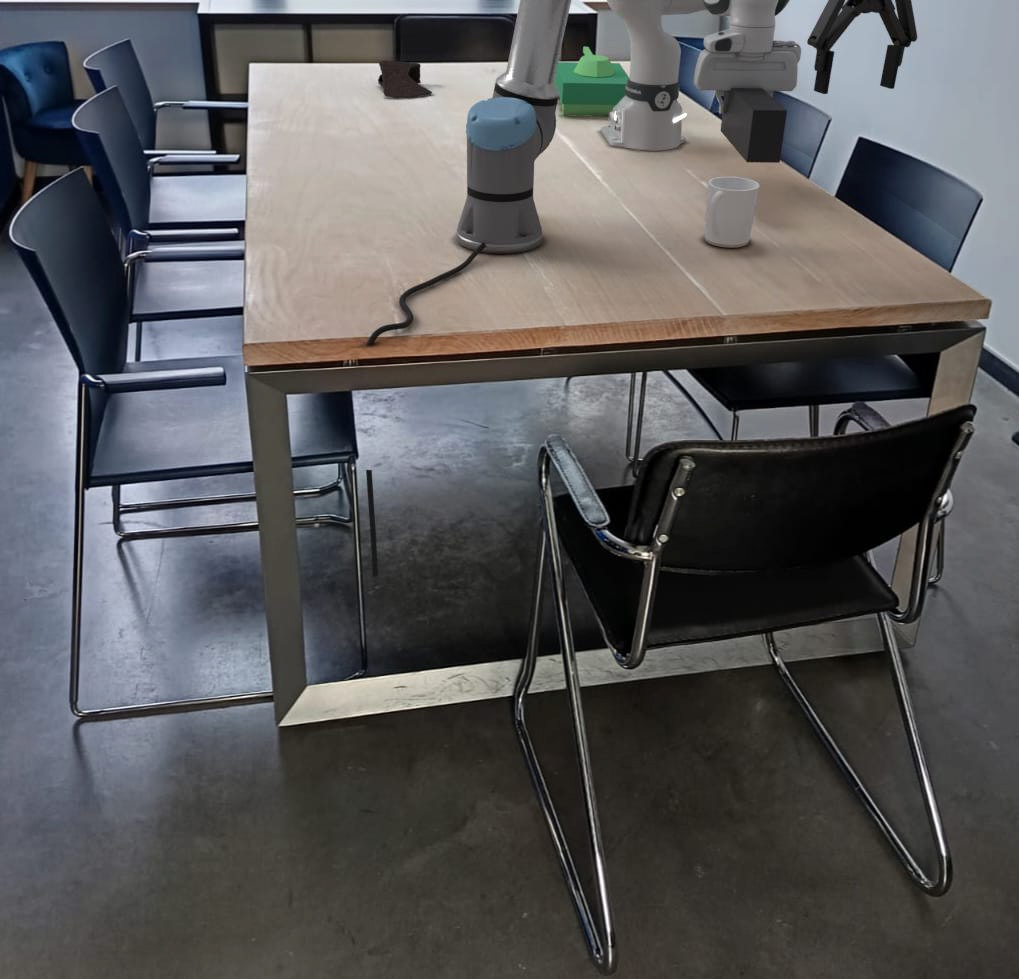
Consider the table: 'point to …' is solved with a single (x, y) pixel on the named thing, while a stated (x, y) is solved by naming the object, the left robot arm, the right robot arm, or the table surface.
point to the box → (754, 124)
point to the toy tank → (590, 85)
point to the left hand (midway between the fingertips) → (854, 89)
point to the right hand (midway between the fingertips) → (741, 113)
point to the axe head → (401, 79)
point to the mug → (730, 211)
